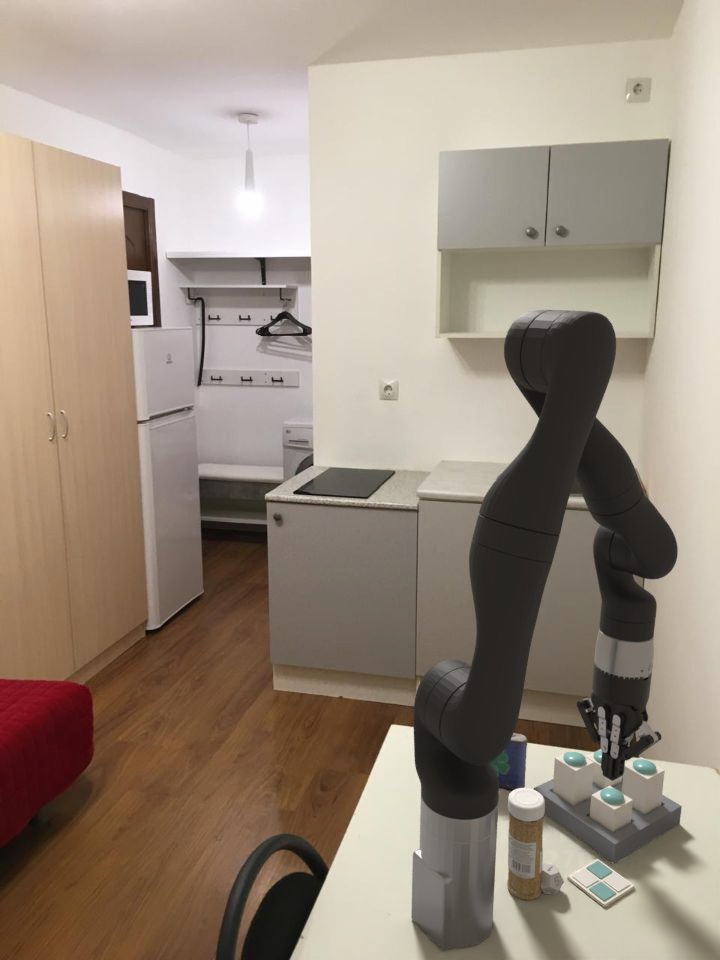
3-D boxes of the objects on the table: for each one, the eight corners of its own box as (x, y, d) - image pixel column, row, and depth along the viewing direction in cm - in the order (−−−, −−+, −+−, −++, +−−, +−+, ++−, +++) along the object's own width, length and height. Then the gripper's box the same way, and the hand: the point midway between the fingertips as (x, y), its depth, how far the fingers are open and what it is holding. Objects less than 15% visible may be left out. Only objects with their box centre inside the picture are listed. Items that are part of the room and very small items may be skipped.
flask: (526, 786, 121) (529, 725, 119) (520, 796, 119) (524, 734, 116) (471, 769, 125) (474, 710, 123) (465, 778, 123) (467, 718, 121)
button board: (613, 863, 104) (615, 844, 103) (532, 805, 116) (533, 788, 116) (679, 823, 112) (681, 806, 111) (597, 773, 124) (598, 757, 124)
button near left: (573, 807, 112) (576, 768, 110) (552, 793, 115) (555, 755, 114) (591, 798, 114) (594, 759, 113) (570, 784, 117) (573, 747, 116)
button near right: (611, 847, 107) (614, 807, 105) (588, 831, 110) (591, 792, 109) (629, 837, 109) (633, 797, 107) (606, 821, 112) (609, 783, 111)
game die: (569, 889, 99) (570, 869, 99) (552, 903, 97) (553, 883, 96) (546, 874, 102) (547, 855, 101) (529, 888, 99) (530, 868, 99)
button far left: (603, 804, 116) (606, 766, 115) (582, 790, 119) (585, 754, 118) (620, 795, 118) (623, 758, 117) (599, 782, 122) (602, 746, 120)
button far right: (643, 816, 110) (647, 776, 109) (620, 801, 113) (624, 763, 112) (660, 806, 112) (664, 767, 111) (637, 792, 115) (641, 754, 114)
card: (604, 907, 96) (604, 903, 96) (567, 878, 101) (567, 875, 101) (634, 888, 100) (634, 884, 99) (597, 861, 104) (597, 857, 104)
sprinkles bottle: (549, 888, 99) (552, 796, 96) (529, 907, 96) (531, 813, 93) (519, 870, 103) (521, 781, 100) (499, 888, 99) (501, 797, 97)
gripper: (566, 651, 107) (557, 762, 111) (647, 689, 96) (634, 810, 100) (601, 639, 111) (591, 747, 115) (683, 675, 100) (669, 792, 104)
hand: (611, 776), depth 107 cm, fingers closed
